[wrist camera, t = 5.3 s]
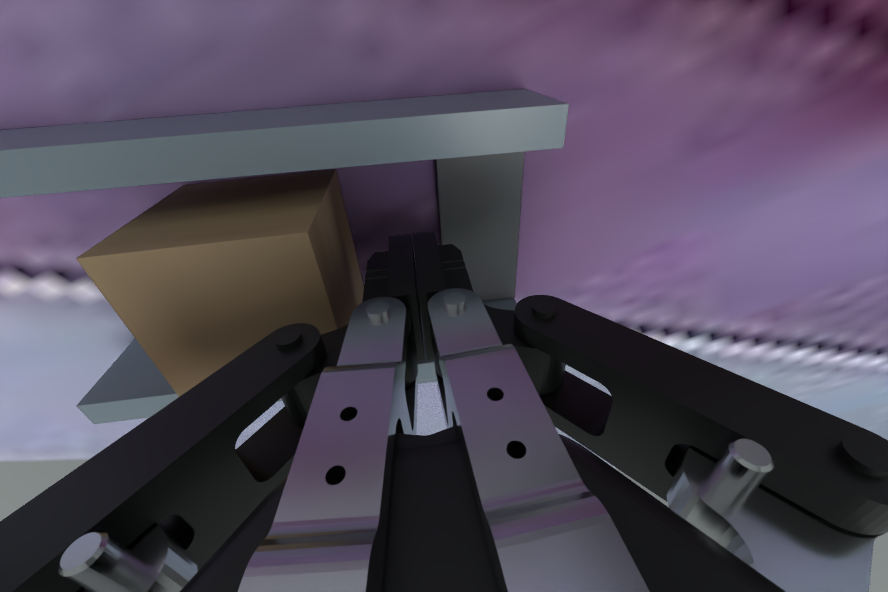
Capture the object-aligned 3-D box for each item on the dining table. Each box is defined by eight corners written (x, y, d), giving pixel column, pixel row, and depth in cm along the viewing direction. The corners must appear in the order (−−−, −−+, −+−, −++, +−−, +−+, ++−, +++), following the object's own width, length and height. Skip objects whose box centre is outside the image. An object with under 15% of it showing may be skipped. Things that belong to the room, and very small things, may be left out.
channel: (-14, 131, 11) (-163, 163, 8) (525, 88, 12) (568, 104, 9) (148, 355, 16) (94, 424, 13) (511, 313, 17) (535, 368, 14)
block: (183, 185, 12) (75, 258, 8) (336, 169, 12) (307, 232, 8) (242, 306, 15) (185, 405, 11) (365, 291, 15) (354, 382, 11)
